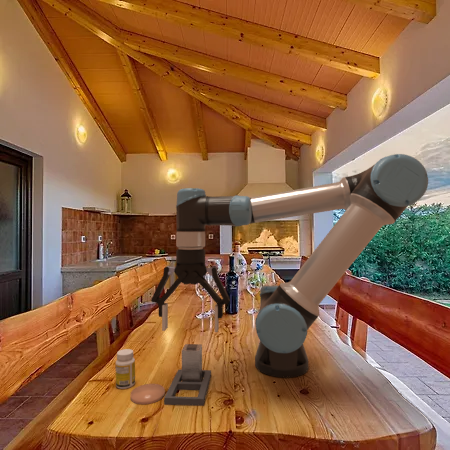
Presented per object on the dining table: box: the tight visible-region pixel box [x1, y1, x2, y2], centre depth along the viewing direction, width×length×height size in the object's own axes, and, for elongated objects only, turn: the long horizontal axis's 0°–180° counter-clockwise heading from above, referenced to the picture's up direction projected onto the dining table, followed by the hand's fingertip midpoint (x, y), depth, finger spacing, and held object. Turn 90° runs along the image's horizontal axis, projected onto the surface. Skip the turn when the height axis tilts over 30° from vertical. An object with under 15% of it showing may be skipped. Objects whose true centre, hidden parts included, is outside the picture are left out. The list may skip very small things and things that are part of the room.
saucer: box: [130, 383, 166, 405], centre depth 76 cm, size 8×8×1 cm
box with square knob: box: [181, 343, 203, 382], centre depth 82 cm, size 4×4×9 cm
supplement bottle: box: [115, 348, 136, 390], centre depth 81 cm, size 5×5×8 cm
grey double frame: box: [163, 369, 212, 407], centre depth 79 cm, size 9×14×2 cm, turn 176°
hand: (190, 330), depth 82 cm, fingers open, 13 cm apart
